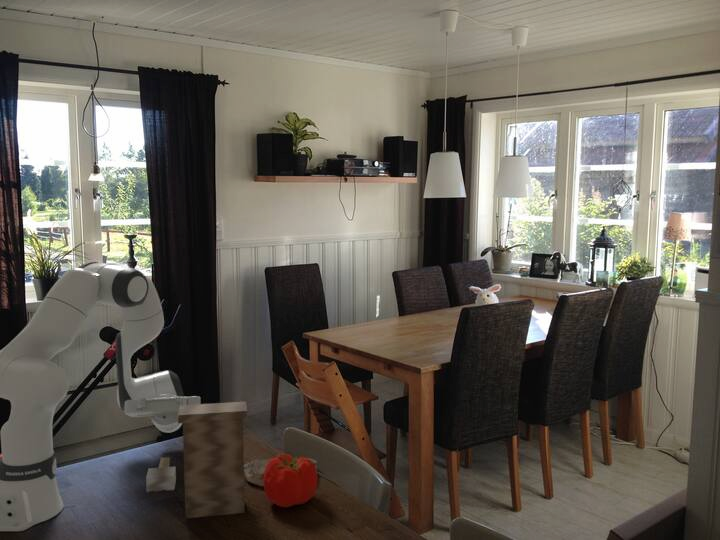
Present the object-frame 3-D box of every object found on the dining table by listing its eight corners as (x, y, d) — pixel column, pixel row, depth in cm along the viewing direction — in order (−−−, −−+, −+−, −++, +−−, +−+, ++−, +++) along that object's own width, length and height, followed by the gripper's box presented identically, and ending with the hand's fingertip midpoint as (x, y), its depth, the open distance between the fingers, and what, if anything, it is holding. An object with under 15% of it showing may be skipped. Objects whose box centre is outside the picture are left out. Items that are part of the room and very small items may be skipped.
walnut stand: (181, 519, 158) (177, 415, 155) (182, 506, 165) (179, 405, 162) (248, 513, 161) (247, 410, 158) (247, 500, 168) (246, 401, 165)
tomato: (253, 506, 165) (252, 461, 163) (287, 484, 177) (287, 442, 175) (297, 520, 158) (296, 473, 157) (329, 496, 170) (329, 453, 169)
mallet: (146, 492, 172) (146, 478, 172) (152, 467, 187) (152, 454, 187) (174, 490, 174) (173, 475, 173) (178, 465, 189) (177, 452, 188)
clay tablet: (236, 489, 175) (311, 490, 174) (236, 471, 175) (311, 472, 173) (248, 467, 189) (318, 468, 188) (248, 451, 188) (318, 452, 187)
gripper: (127, 401, 188) (120, 391, 176) (201, 397, 192) (199, 386, 180) (127, 424, 186) (119, 414, 174) (201, 419, 190) (199, 410, 178)
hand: (160, 400), depth 177 cm, fingers open, 8 cm apart
